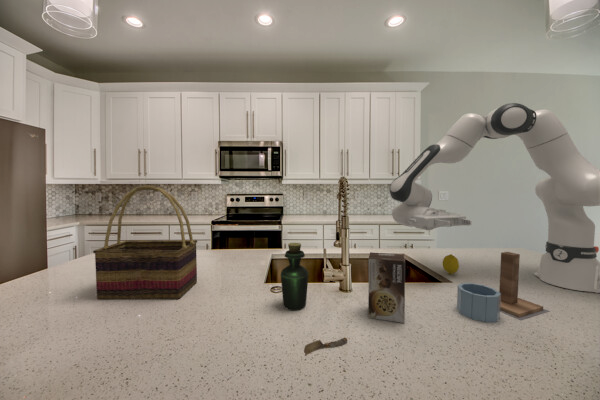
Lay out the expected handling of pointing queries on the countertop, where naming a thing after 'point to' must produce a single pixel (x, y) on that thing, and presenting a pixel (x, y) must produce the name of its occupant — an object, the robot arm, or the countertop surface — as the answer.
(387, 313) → the coffee box
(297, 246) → the potion bottle
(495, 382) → the countertop surface
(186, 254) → the basket
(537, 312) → the mat
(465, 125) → the robot arm
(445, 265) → the lemon
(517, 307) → the wooden post on board
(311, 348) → the meat cleaver
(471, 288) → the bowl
